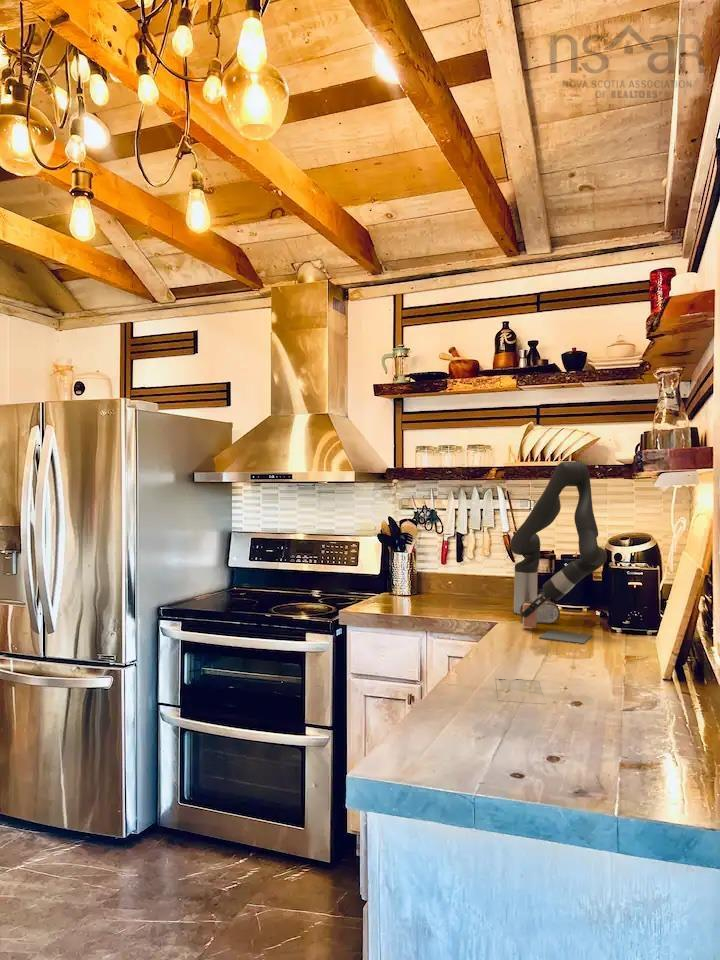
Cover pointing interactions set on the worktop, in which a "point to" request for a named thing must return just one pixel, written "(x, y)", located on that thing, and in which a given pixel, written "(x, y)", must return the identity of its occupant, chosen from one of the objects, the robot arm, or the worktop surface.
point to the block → (530, 617)
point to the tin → (545, 613)
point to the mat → (565, 637)
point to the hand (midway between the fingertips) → (524, 614)
